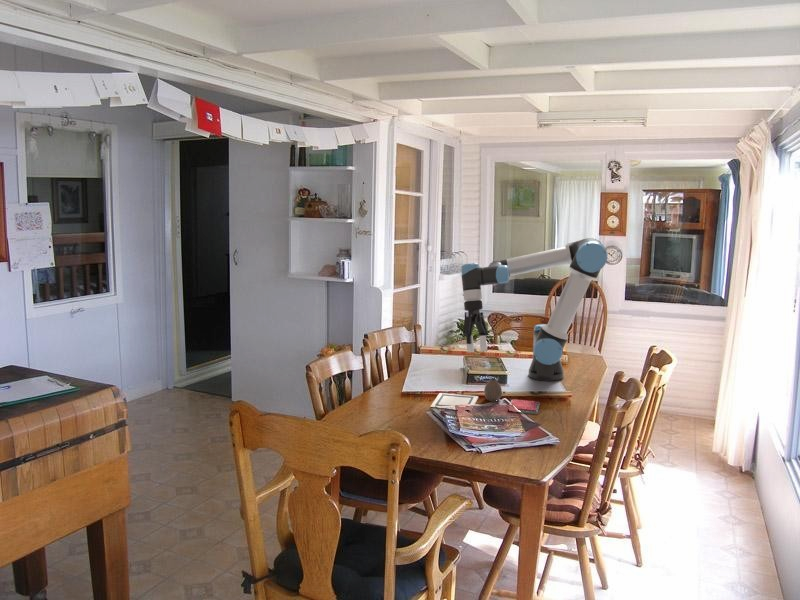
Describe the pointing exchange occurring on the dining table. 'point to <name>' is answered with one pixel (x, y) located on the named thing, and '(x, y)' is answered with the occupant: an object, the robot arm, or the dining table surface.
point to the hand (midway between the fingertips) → (477, 351)
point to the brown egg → (492, 390)
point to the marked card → (453, 399)
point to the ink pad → (526, 406)
